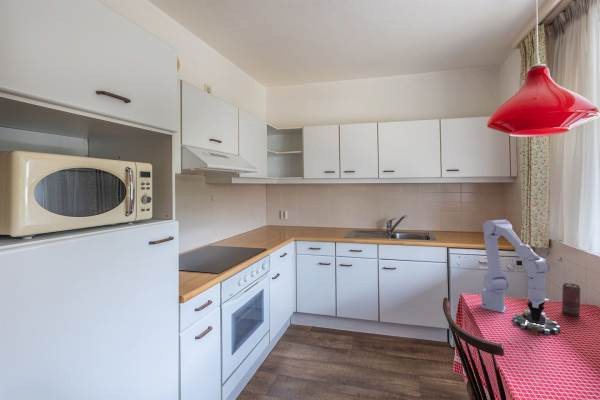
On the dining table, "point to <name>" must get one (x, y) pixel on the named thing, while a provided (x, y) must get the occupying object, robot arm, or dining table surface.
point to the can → (571, 300)
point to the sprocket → (547, 329)
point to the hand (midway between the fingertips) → (535, 318)
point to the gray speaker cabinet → (541, 321)
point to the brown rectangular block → (534, 330)
